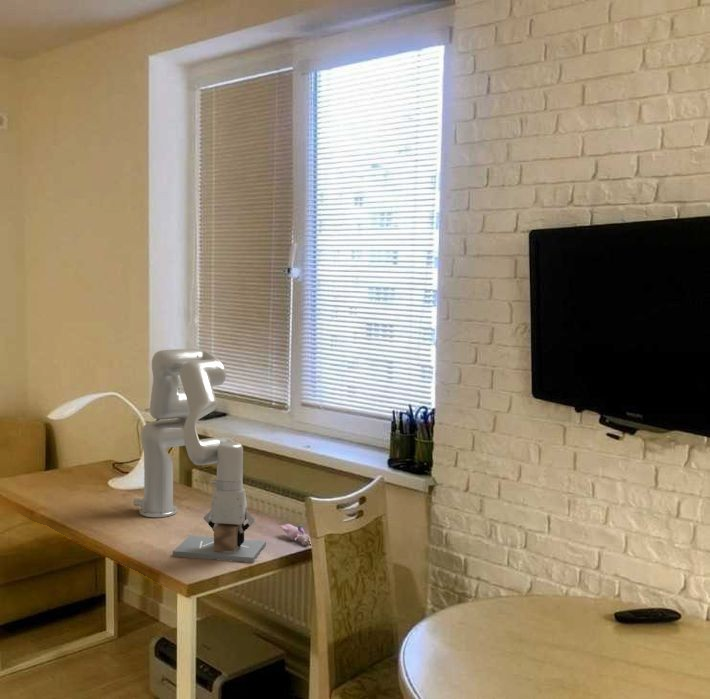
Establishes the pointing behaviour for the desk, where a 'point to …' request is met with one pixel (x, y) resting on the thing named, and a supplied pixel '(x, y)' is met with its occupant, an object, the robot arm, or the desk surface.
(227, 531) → the block
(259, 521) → the desk surface
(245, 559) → the slate board
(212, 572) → the desk surface
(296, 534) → the pink plastic figure
